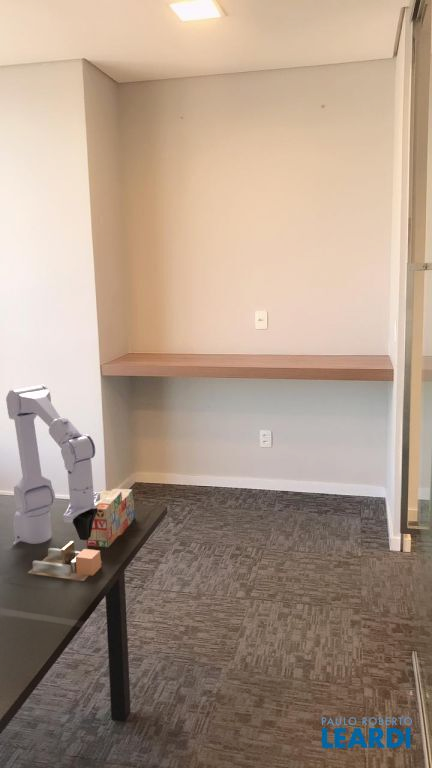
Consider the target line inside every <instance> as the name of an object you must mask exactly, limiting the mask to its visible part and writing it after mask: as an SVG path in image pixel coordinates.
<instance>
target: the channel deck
mask: <svg viewBox="0 0 432 768" xmlns="http://www.w3.org/2000/svg"><path fill="white" fill-rule="evenodd" d="M61 549H62V548H57V547H56V548H54V547H49V548H48V549H47V556H46V557H45V558H43V559H42V560H33V561H32V568H31V569H30V570H29V571H28V572H27V574H33V575H37V576H38V575H39V576H47V577H51V578H52V577H53V578H61V579H66V580H67V579H68V580H72V581H80V582H83V581H84V582H85V580H86V579H87V578H88V577H89V576H90V575H85V574H78V573H77V571H76V572H71V566H70V565H66V564H62V554H61ZM80 552H81V551H79V550H75V557H76V556H77V555H78V554H79V553H80ZM101 564H103V560H101Z"/></svg>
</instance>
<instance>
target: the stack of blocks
mask: <svg viewBox="0 0 432 768" xmlns="http://www.w3.org/2000/svg"><path fill="white" fill-rule="evenodd" d="M98 493H100V500H99V501H97V502H96V503H98V504H99V506H98V507H97V510H98V512H97V513H96V516H95V518H94V521H93V526H92V531H91V537H90V538H88V540H86V546H87V547H99V548H100V547H102V548H103V547H104V548H109V547H110V546H112V544H113V543H114V542H115V540H116V539H117V538H118V537H119V536H122V535H123V533H124V532H125V531H126V530H127V528H128V527H129V526H130V525H131V524H132V522H133V521H134V520H135V518H136V517H135V504H134V502H135V500H134V496H133V495H134V494H133V493H134V492H133V489H129V488H127V489H126V488H112V489H111V490H100V491H99V492H98Z"/></svg>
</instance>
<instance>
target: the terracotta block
mask: <svg viewBox="0 0 432 768" xmlns="http://www.w3.org/2000/svg"><path fill="white" fill-rule="evenodd" d="M75 558H76V570H77V573H78V574H85V575H89V576H94V575H95V574H96V573H97V572H98V571H99V570H100V569H101V568H102V563H101V561H102V559H101V550H96V549H88V548H83V549H82V550H81V551H80V553H79V554H78V555H77V556H76V557H75Z"/></svg>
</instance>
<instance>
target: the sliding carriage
mask: <svg viewBox="0 0 432 768" xmlns="http://www.w3.org/2000/svg"><path fill="white" fill-rule="evenodd" d="M60 549H61V554H62V564H66V565H70V566H71V572H76V571H77V570H76V558H75V551H76V548H75V541H73V540H70V541H69V542H68V543H67V544H66V545H65V546H63V547H62V548H60Z"/></svg>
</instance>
